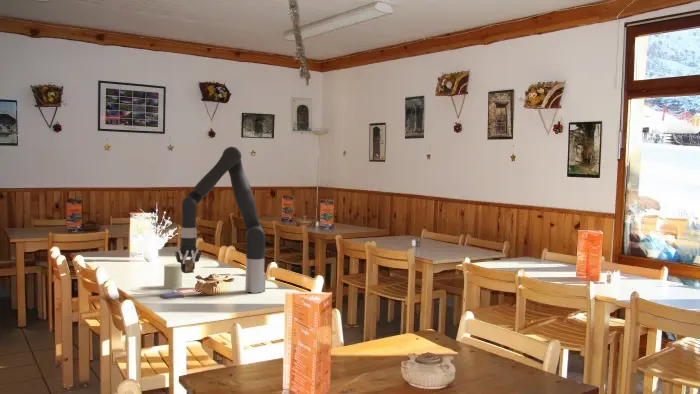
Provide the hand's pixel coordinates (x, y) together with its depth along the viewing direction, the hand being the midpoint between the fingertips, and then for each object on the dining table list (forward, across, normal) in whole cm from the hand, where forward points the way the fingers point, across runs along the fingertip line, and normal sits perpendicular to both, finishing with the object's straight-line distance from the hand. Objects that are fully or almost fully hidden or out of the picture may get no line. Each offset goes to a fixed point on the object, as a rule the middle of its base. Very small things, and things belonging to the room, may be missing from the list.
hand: (187, 270), depth 305 cm
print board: (+11, 0, 0) cm, 11 cm away
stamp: (+1, 0, 0) cm, 1 cm away
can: (+11, -1, +16) cm, 20 cm away
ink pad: (+11, -10, -5) cm, 16 cm away
